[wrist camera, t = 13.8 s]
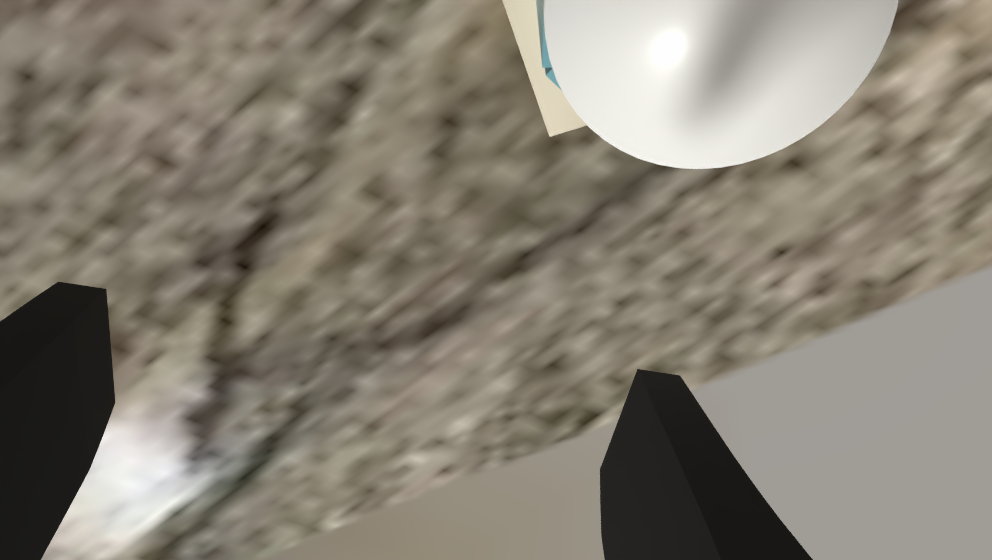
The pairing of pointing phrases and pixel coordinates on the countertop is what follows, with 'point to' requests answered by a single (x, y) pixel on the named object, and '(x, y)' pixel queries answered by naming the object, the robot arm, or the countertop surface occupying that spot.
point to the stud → (540, 69)
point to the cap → (709, 71)
